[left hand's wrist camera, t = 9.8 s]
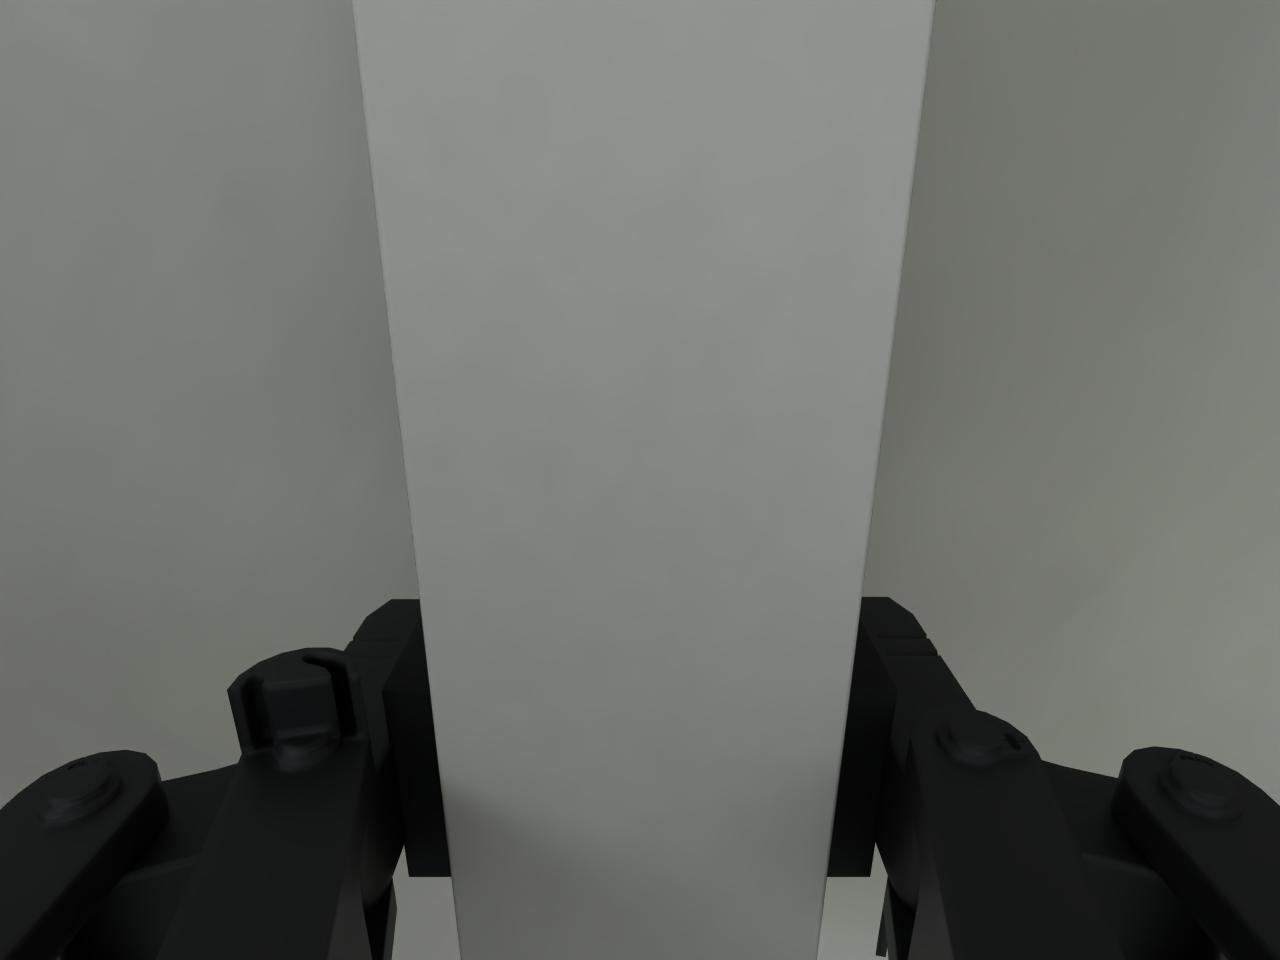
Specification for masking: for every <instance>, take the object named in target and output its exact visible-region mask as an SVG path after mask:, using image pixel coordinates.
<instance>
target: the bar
mask: <svg viewBox="0 0 1280 960" xmlns="http://www.w3.org/2000/svg"><path fill="white" fill-rule="evenodd" d="M351 3H352V11H353V20H354V29H355V38H356V46H357V55H358V64H359V73H360V81H361V90H362V99H363V108H364V116H365V125H366V134H367V143H368V151H369V160H370V169H371V178H372V186H373V195H374V204H375V213H376V221H377V230H378V239H379V248H380V256H381V265H382V274H383V283H384V291H385V300H386V309H387V318H388V327H389V335H390V344H391V353H392V362H393V370H394V379H395V388H396V397H397V405H398V414H399V423H400V432H401V440H402V449H403V458H404V467H405V475H406V484H407V493H408V502H409V510H410V519H411V528H412V537H413V545H414V554H415V563H416V572H417V580H418V589H419V598H420V607H421V615H422V624H423V633H424V642H425V650H426V659H427V668H428V677H429V685H430V694H431V703H432V712H433V720H434V729H435V738H436V747H437V755H438V764H439V773H440V782H441V791H442V799H443V808H444V817H445V826H446V834H447V843H448V852H449V861H450V869H451V878H452V887H453V896H454V904H455V913H456V922H457V931H458V939H459V948H460V957H461V960H817V953H818V945H819V937H820V929H821V920H822V912H823V904H824V896H825V888H826V880H827V872H828V864H829V856H830V848H831V840H832V832H833V824H834V816H835V808H836V800H837V792H838V784H839V776H840V768H841V760H842V752H843V744H844V736H845V728H846V720H847V712H848V704H849V696H850V688H851V680H852V672H853V664H854V656H855V648H856V640H857V632H858V623H859V615H860V607H861V599H862V591H863V583H864V575H865V567H866V559H867V551H868V543H869V535H870V527H871V519H872V511H873V503H874V495H875V487H876V479H877V471H878V463H879V455H880V447H881V439H882V431H883V423H884V415H885V407H886V399H887V391H888V383H889V375H890V367H891V359H892V351H893V343H894V334H895V326H896V318H897V310H898V302H899V294H900V286H901V278H902V270H903V262H904V254H905V246H906V238H907V230H908V222H909V214H910V206H911V198H912V190H913V182H914V174H915V166H916V158H917V150H918V142H919V134H920V126H921V118H922V110H923V102H924V94H925V86H926V78H927V70H928V62H929V54H930V46H931V37H932V29H933V21H934V13H935V5H936V0H351Z"/></svg>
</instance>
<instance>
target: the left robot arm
mask: <svg viewBox="0 0 1280 960" xmlns="http://www.w3.org/2000/svg"><path fill="white" fill-rule="evenodd" d="M227 692H228V696H229V700H230V705H231V709H232V713H233V717H234V722H235V726H236V730H237V734H238V739H239V743H240V747H241V751H242V755H241V757H240V760H239V762H238V763H237V764H234V765H230V766H227V767H223V768H220V769H216V770H212V771H207V772H203V773H198V774H194V775H189V776H184V777H180V778H175V779H171V780H166V781H162V780H161V777H160V773H159V770H158V767H157V763H156V762H155V761H154V760H152V759H151V758H150V757H149V756H148V755H147V754H146V753H141V752H135V751H130V750H119V751H110V752H100V753H97V754H94V755H90V756H87V757H82V758H80V759H77V760H74V761H71V762H69V763H67V764H65V765H63V766H61V767H59V768H57V769H55V770H53V771H51V772H49V773H47V774H45V775H43V776H41V777H40V778H39V779H37V780H36V781H34V782H33V783H32V784H30V785H29V786H28V787H26V788H25V789H24V790H22V791H21V792H19V793H18V794H17V795H16V796H15V797H14V798H13V799H12V800H10V801H9V802H8V803H7V804H6V805H5V806H4V807H3V808H2V809H1V810H0V960H391V959H392V950H393V941H394V931H395V922H396V913H397V906H396V898H395V891H394V885H393V878H392V876H393V873H394V871H395V868H396V865H397V862H398V860H399V857H400V854H401V852H402V849H403V846H405V853H406V859H407V866H408V873H409V877H451V869H450V861H449V852H448V843H447V834H446V826H445V817H444V808H443V799H442V791H441V782H440V773H439V764H438V755H437V747H436V738H435V729H434V720H433V712H432V703H431V694H430V685H429V677H428V668H427V659H426V650H425V642H424V633H423V624H422V615H421V607H420V599H391V600H390V601H388V602H387V603H385V604H384V605H383V606H381V607H380V608H378V609H377V610H375V611H374V612H373V613H371V614H370V615H368V616H367V617H366V618H365V620H364V621H363V623H362V625H361V626H360V628H359V629H358V631H357V632H356V634H355V635H354V637H353V641H350V643H349V644H348V646H347V647H346V649H345V650H344V651H341V650H337V649H333V648H304V649H299V650H294V651H289V652H284V653H281V654H278V655H276V656H273V657H271V658H268V659H266V660H263V661H261V662H259V663H257V664H256V665H254V666H253V667H251V668H249V669H248V670H246V671H245V672H243V673H242V674H240V675H239V676H238V677H237V679H236V680H235V681H234V682H233V683H232V685H231V686H230V687H229V688H228V689H227ZM875 842H876V845H877V847H878V850H879V853H880V855H881V858H882V861H883V864H884V866H885V869H886V872H887V874H888V878H887V885H886V891H885V897H884V904H883V910H882V916H881V923H880V929H879V935H878V942H877V949H876V955H877V956H882V957H886V952H887V948H888V957H889V960H1280V806H1279V805H1278V804H1277V803H1276V802H1275V801H1274V800H1273V799H1272V798H1270V797H1269V796H1268V795H1267V794H1266V793H1265V792H1264V791H1263V790H1262V789H1260V788H1259V787H1257V786H1256V785H1255V784H1253V783H1252V782H1251V781H1249V780H1248V779H1246V778H1245V777H1244V776H1242V775H1241V774H1240V773H1238V772H1236V771H1234V770H1232V769H1230V768H1228V767H1226V766H1224V765H1222V764H1220V763H1218V762H1216V761H1214V760H1212V759H1210V758H1208V757H1205V756H1202V755H1199V754H1194V753H1193V752H1188V751H1184V750H1181V749H1174V748H1164V747H1155V746H1153V747H1148V748H1143V749H1138V750H1134V751H1133V752H1132V753H1130V754H1129V755H1128V756H1127V757H1126V758H1125V759H1124V760H1123V763H1122V767H1121V770H1120V774H1119V777H1118V778H1115V777H1110V776H1105V775H1101V774H1096V773H1092V772H1087V771H1082V770H1078V769H1073V768H1069V767H1064V766H1061V765H1057V764H1054V763H1050V762H1047V761H1043V760H1041V758H1040V756H1039V753H1038V752H1037V750H1036V749H1035V748H1034V746H1033V745H1032V743H1031V742H1030V740H1029V739H1028V738H1027V736H1025V735H1024V734H1023V733H1021V732H1020V731H1019V730H1017V729H1016V728H1015V727H1013V726H1012V725H1011V724H1010V723H1008V722H1006V721H1004V720H1002V719H999V718H997V717H995V716H993V715H991V714H988V713H986V712H983V711H978V710H976V709H975V707H974V706H973V704H972V703H971V701H970V700H969V698H968V697H967V695H966V694H965V692H964V691H963V689H962V688H961V686H960V684H959V683H958V681H957V680H956V678H955V677H954V675H953V674H952V672H951V671H950V669H949V668H948V666H947V665H946V663H945V662H944V660H943V659H942V657H941V656H938V654H937V650H936V648H935V647H934V645H933V644H932V642H931V641H930V639H929V638H926V633H925V632H924V630H923V629H922V627H921V626H920V624H919V623H918V621H917V620H916V618H915V617H914V615H913V614H912V613H910V612H909V611H908V610H906V609H905V608H903V607H902V606H900V605H899V604H898V603H896V602H895V601H893V600H892V599H890V598H889V597H862V599H861V607H860V615H859V623H858V632H857V640H856V648H855V656H854V664H853V672H852V680H851V688H850V696H849V704H848V712H847V720H846V728H845V736H844V744H843V752H842V760H841V768H840V776H839V784H838V792H837V800H836V808H835V816H834V824H833V832H832V840H831V848H830V856H829V864H828V872H827V877H870V875H871V868H872V861H873V854H874V847H875Z"/></svg>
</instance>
